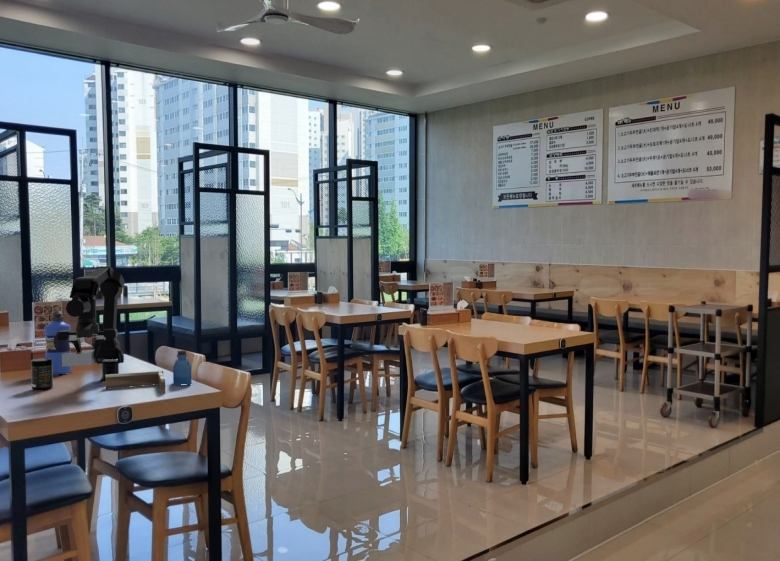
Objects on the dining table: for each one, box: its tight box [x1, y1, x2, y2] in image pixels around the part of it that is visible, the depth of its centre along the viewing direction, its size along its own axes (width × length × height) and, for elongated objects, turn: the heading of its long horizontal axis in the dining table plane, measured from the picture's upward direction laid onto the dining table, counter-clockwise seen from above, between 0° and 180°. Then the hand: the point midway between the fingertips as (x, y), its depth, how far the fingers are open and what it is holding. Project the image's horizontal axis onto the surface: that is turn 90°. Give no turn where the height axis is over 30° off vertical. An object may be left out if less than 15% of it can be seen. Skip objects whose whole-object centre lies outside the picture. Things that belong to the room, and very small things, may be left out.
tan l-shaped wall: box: [105, 370, 166, 394], centre depth 223 cm, size 18×19×5 cm
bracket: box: [62, 349, 96, 367], centre depth 220 cm, size 9×9×4 cm
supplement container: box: [30, 357, 54, 391], centre depth 227 cm, size 7×7×10 cm
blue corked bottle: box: [172, 350, 192, 385], centre depth 235 cm, size 6×6×12 cm
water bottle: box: [43, 310, 72, 376], centre depth 257 cm, size 9×9×25 cm
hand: (88, 359), depth 223 cm, fingers closed on bracket, 4 cm apart
